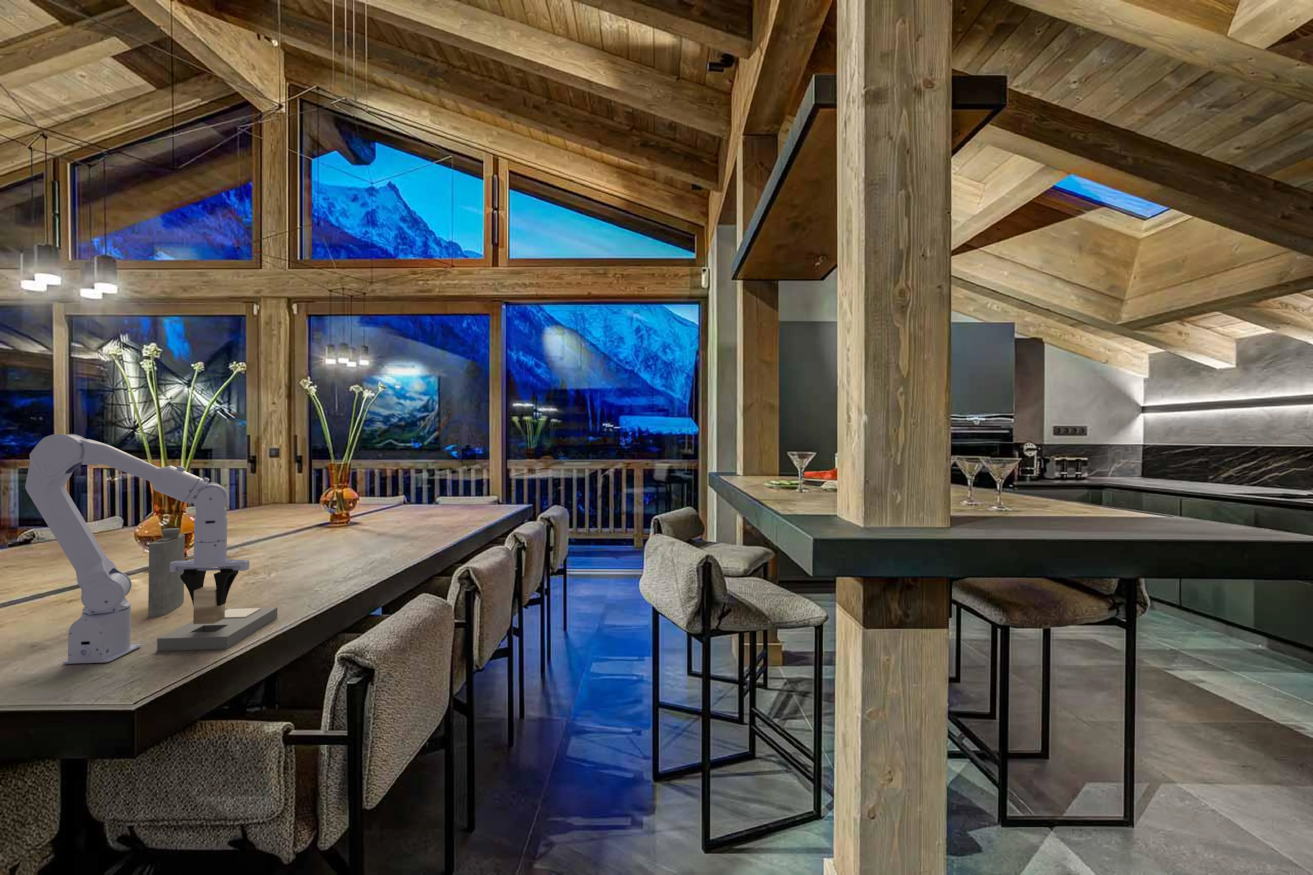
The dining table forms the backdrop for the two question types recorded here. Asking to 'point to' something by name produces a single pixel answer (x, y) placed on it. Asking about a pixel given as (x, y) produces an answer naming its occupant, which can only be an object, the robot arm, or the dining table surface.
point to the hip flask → (165, 573)
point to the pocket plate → (218, 630)
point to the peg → (207, 606)
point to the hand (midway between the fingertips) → (209, 604)
